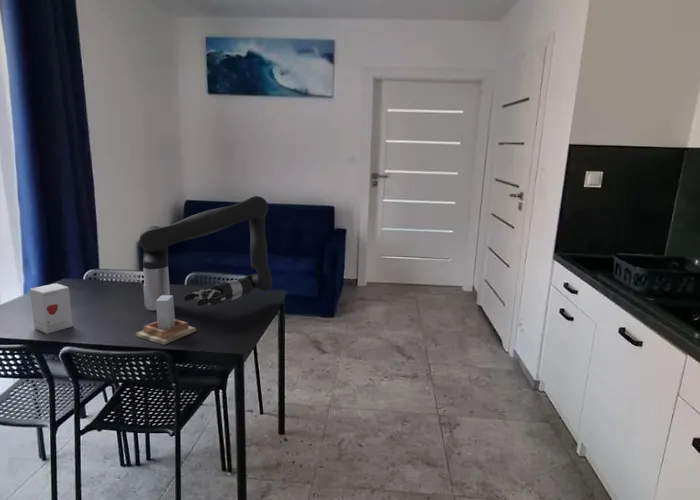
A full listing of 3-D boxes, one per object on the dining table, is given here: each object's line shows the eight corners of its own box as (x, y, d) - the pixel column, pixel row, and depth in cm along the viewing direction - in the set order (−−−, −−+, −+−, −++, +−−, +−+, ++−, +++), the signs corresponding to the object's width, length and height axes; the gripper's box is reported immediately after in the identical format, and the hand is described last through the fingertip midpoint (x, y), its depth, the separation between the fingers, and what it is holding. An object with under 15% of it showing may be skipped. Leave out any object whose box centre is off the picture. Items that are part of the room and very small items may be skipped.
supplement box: (46, 334, 156) (41, 293, 153) (33, 328, 161) (28, 288, 158) (73, 326, 164) (69, 286, 161) (61, 321, 168) (56, 282, 165)
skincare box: (163, 326, 162) (161, 295, 160) (175, 326, 162) (173, 295, 160) (157, 333, 156) (155, 300, 154) (170, 333, 157) (168, 300, 154)
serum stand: (135, 336, 157) (135, 326, 156) (169, 323, 169) (168, 314, 168) (163, 344, 150) (163, 335, 149) (196, 331, 162) (195, 322, 162)
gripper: (216, 278, 181) (179, 287, 169) (238, 285, 173) (201, 295, 160) (217, 296, 183) (180, 306, 170) (239, 304, 174) (202, 315, 162)
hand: (190, 300), depth 165 cm, fingers open, 8 cm apart
